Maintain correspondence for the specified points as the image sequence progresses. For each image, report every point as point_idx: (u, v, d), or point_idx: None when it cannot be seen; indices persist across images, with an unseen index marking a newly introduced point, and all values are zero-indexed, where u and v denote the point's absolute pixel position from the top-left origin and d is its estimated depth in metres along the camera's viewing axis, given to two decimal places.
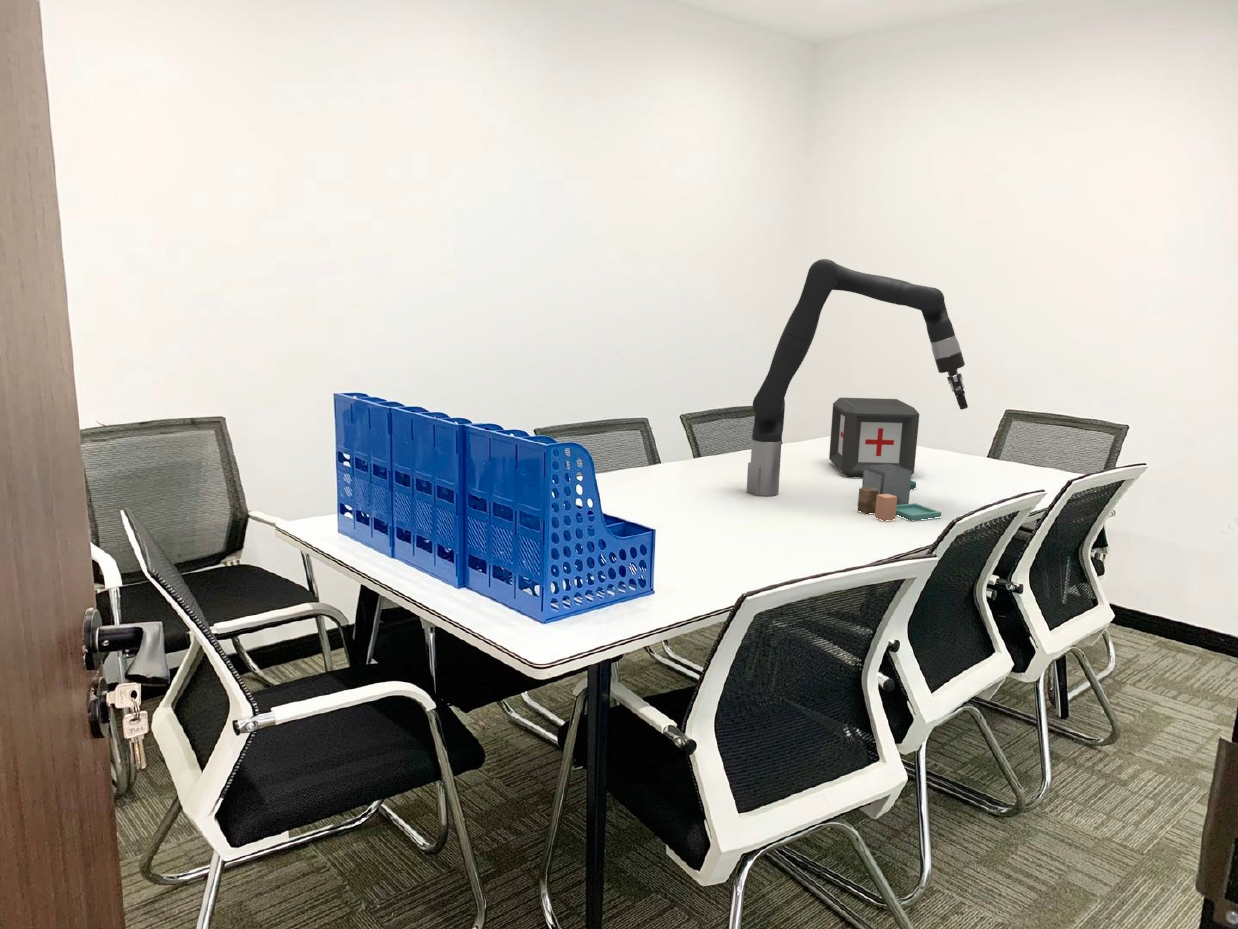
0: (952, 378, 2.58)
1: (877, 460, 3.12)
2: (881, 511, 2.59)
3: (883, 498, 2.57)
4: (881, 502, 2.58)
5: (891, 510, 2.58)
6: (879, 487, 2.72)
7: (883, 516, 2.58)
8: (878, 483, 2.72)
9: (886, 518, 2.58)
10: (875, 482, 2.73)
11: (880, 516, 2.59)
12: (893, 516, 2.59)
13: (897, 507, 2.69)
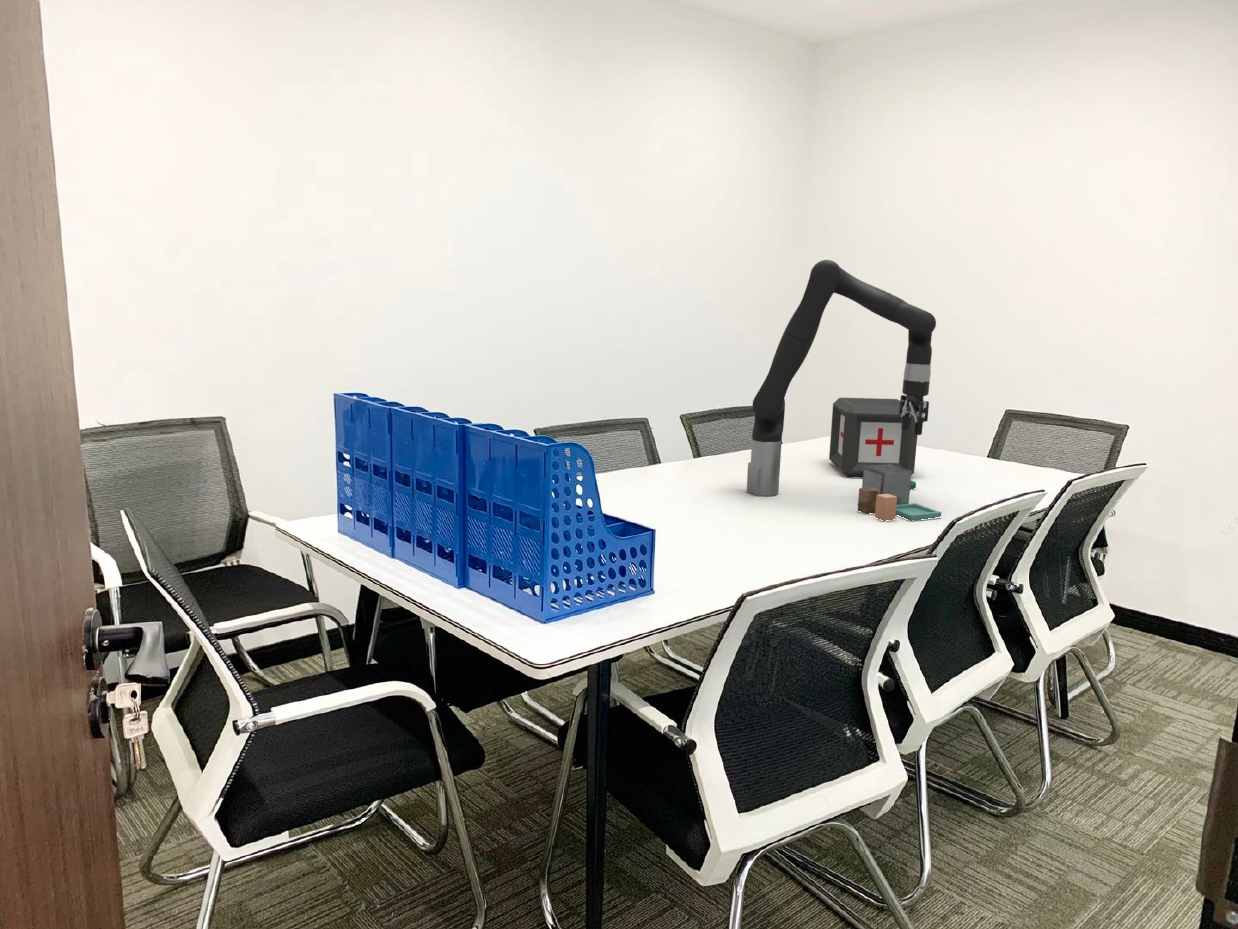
0: (922, 403, 2.65)
1: (877, 460, 3.12)
2: (881, 511, 2.59)
3: (883, 498, 2.57)
4: (880, 502, 2.58)
5: (891, 510, 2.58)
6: (879, 487, 2.72)
7: (883, 516, 2.58)
8: (878, 483, 2.72)
9: (886, 518, 2.58)
10: (875, 482, 2.73)
11: (880, 516, 2.59)
12: (893, 516, 2.59)
13: (897, 507, 2.69)
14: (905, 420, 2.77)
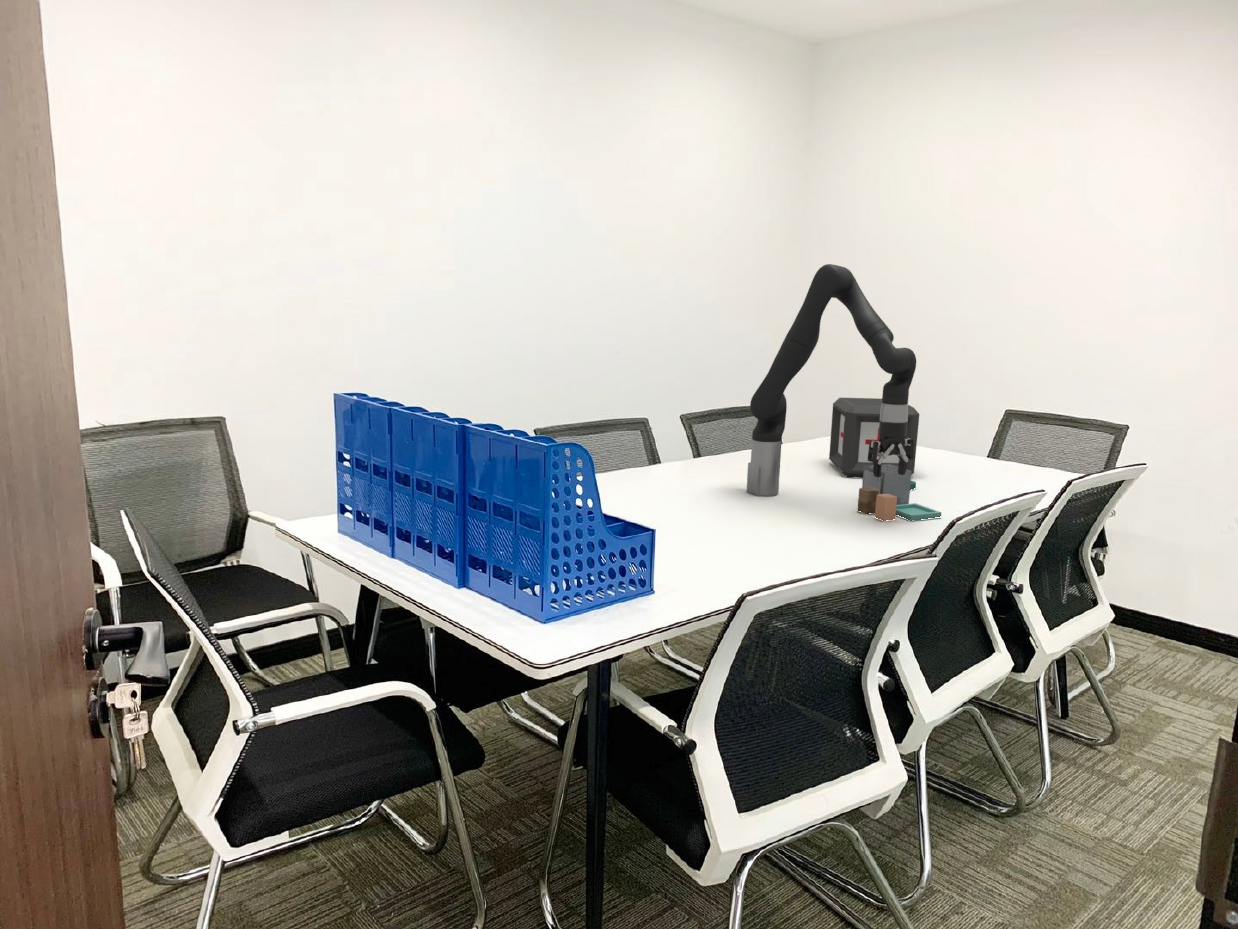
0: (870, 443, 2.54)
1: None
2: (881, 511, 2.59)
3: (883, 498, 2.57)
4: (881, 502, 2.58)
5: (891, 510, 2.58)
6: (879, 487, 2.72)
7: (883, 516, 2.58)
8: (878, 483, 2.72)
9: (886, 518, 2.58)
10: (875, 482, 2.73)
11: (880, 516, 2.59)
12: (893, 516, 2.59)
13: (897, 507, 2.69)
14: (900, 464, 2.59)
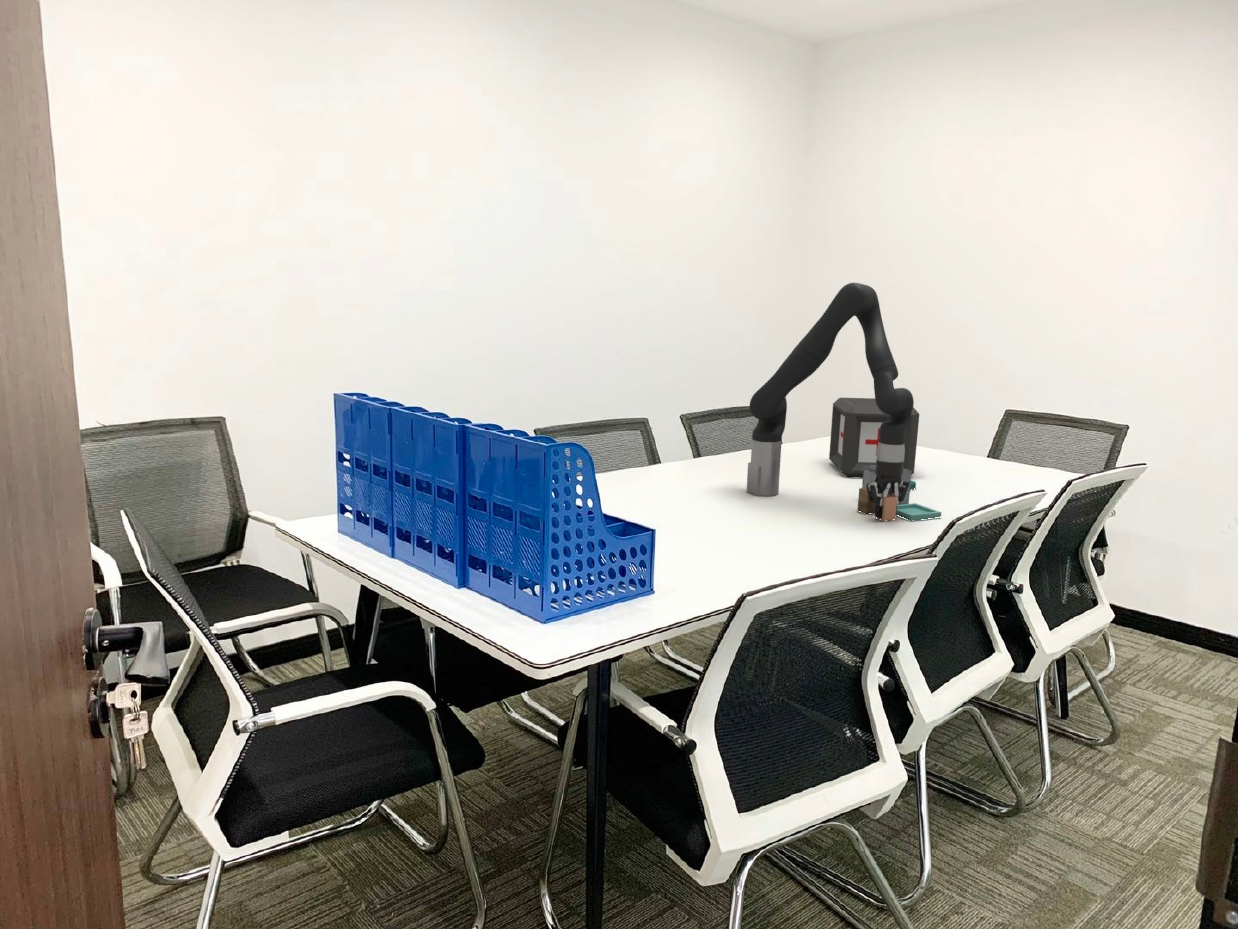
0: (867, 486, 2.56)
1: None
2: None
3: None
4: None
5: (891, 510, 2.58)
6: None
7: (883, 516, 2.58)
8: None
9: (886, 518, 2.58)
10: None
11: None
12: (893, 516, 2.59)
13: (897, 507, 2.69)
14: None
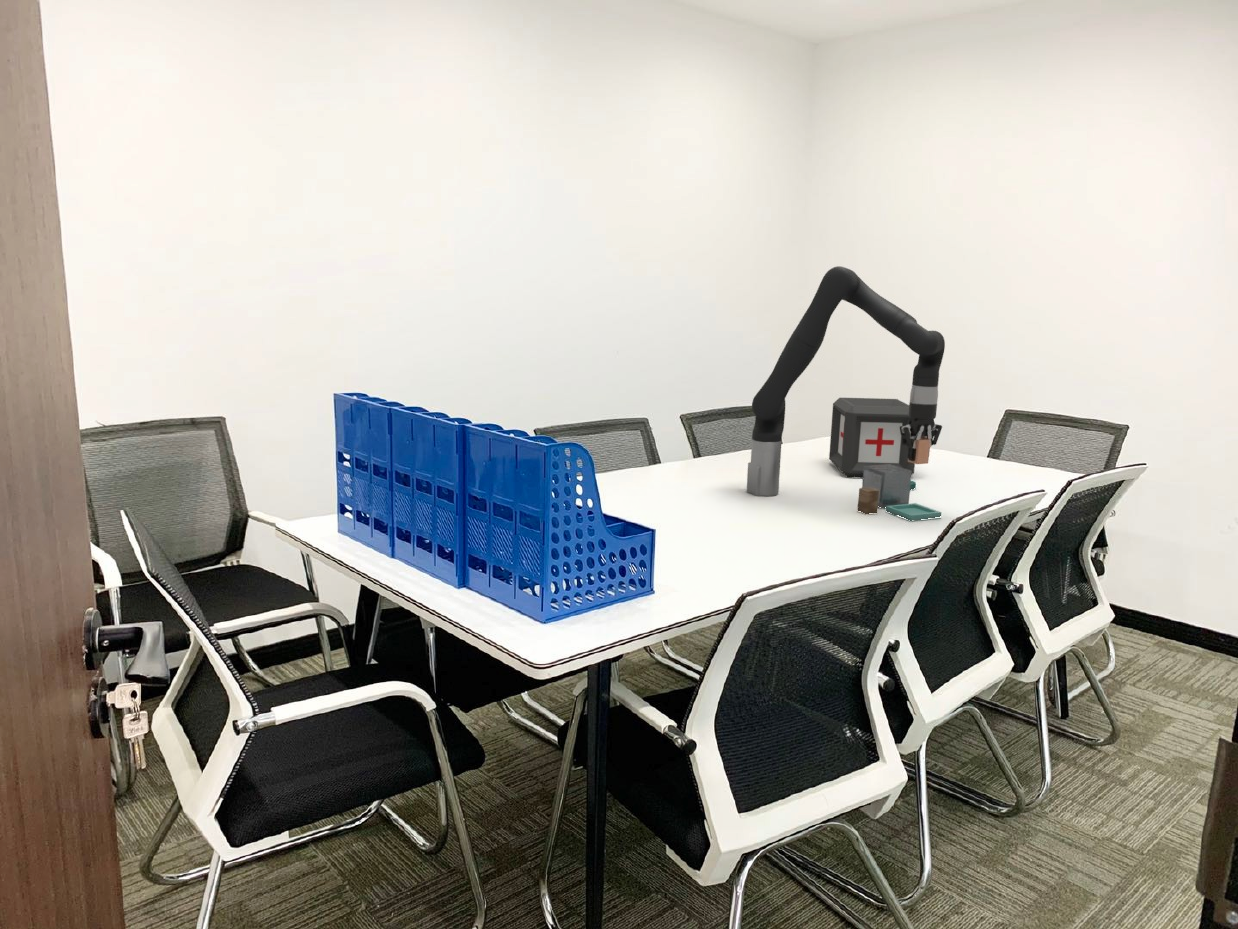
0: (900, 429, 2.58)
1: (877, 460, 3.12)
2: None
3: None
4: None
5: (924, 452, 2.60)
6: (879, 487, 2.72)
7: (916, 459, 2.60)
8: (878, 483, 2.72)
9: (919, 461, 2.60)
10: (875, 482, 2.73)
11: None
12: (926, 459, 2.61)
13: (897, 507, 2.69)
14: None
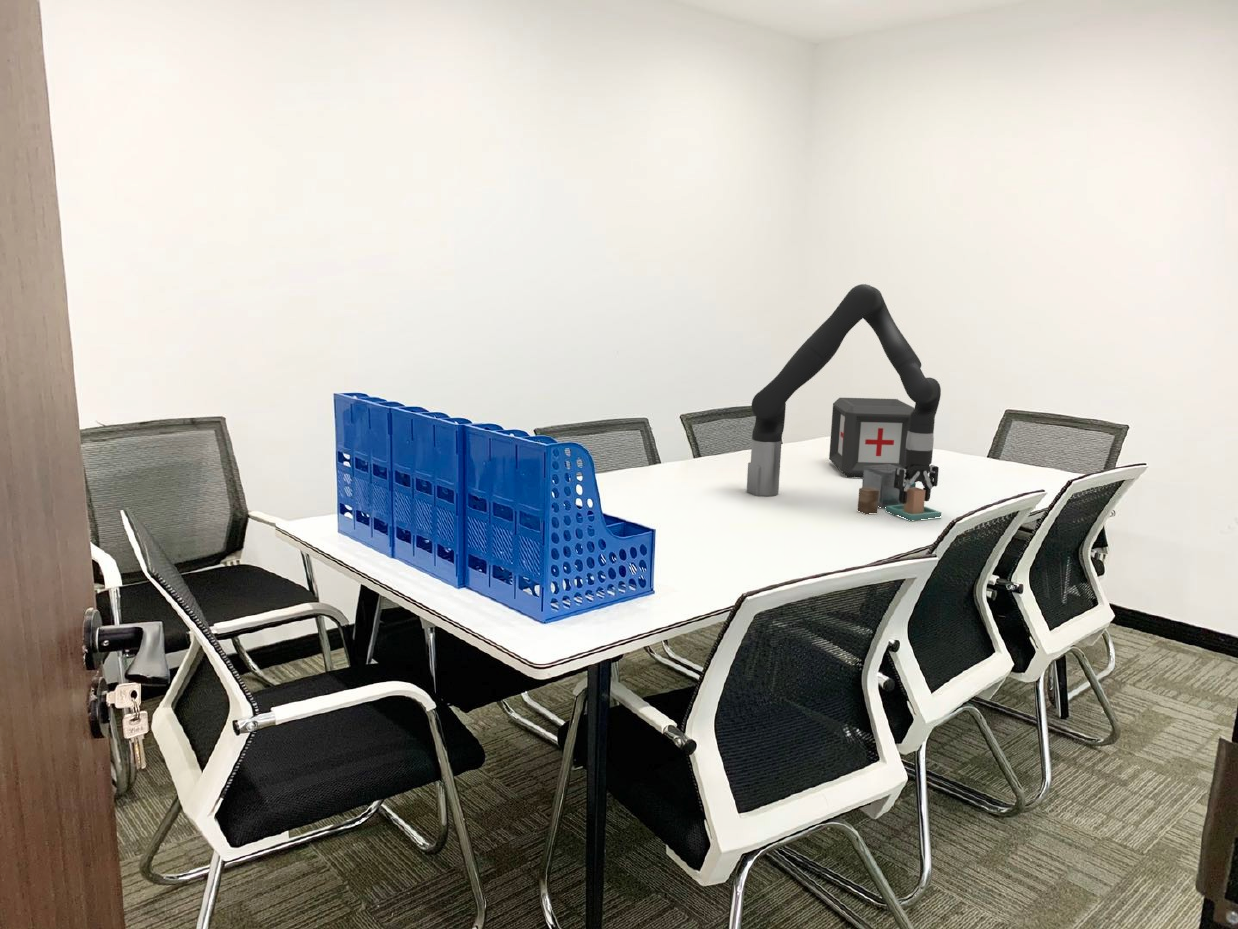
0: (896, 470, 2.61)
1: (877, 460, 3.12)
2: (909, 505, 2.64)
3: (912, 491, 2.62)
4: (909, 495, 2.63)
5: (920, 503, 2.63)
6: (879, 487, 2.72)
7: (912, 509, 2.63)
8: (878, 483, 2.72)
9: (915, 511, 2.63)
10: (875, 482, 2.73)
11: (908, 509, 2.64)
12: (921, 509, 2.64)
13: (897, 507, 2.69)
14: None
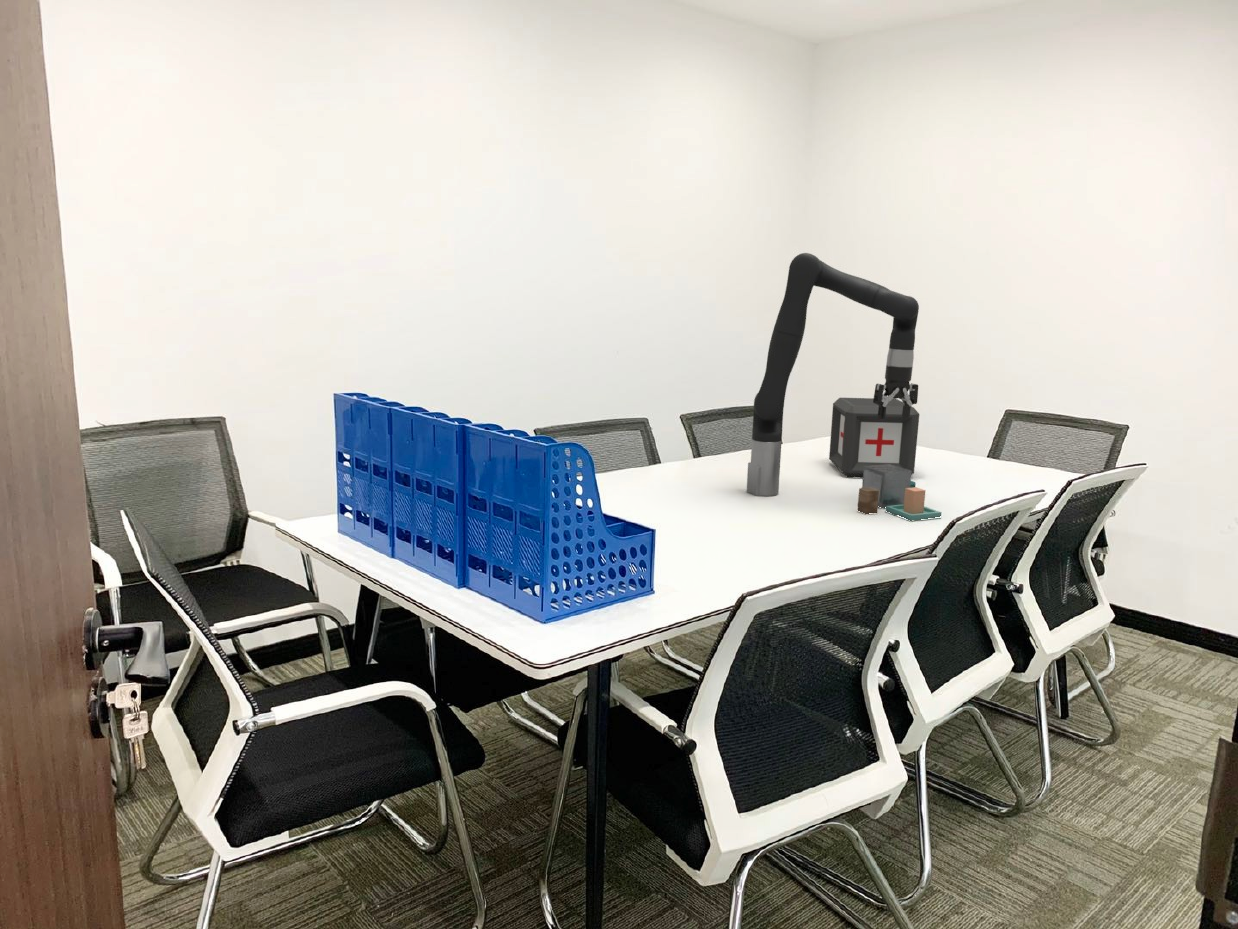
0: (876, 386, 2.68)
1: (877, 460, 3.12)
2: (909, 505, 2.64)
3: (912, 491, 2.62)
4: (909, 495, 2.63)
5: (920, 503, 2.63)
6: (879, 487, 2.72)
7: (912, 509, 2.63)
8: (878, 483, 2.72)
9: (915, 511, 2.63)
10: (875, 482, 2.73)
11: (908, 509, 2.64)
12: (921, 509, 2.64)
13: (897, 507, 2.69)
14: (904, 408, 2.73)
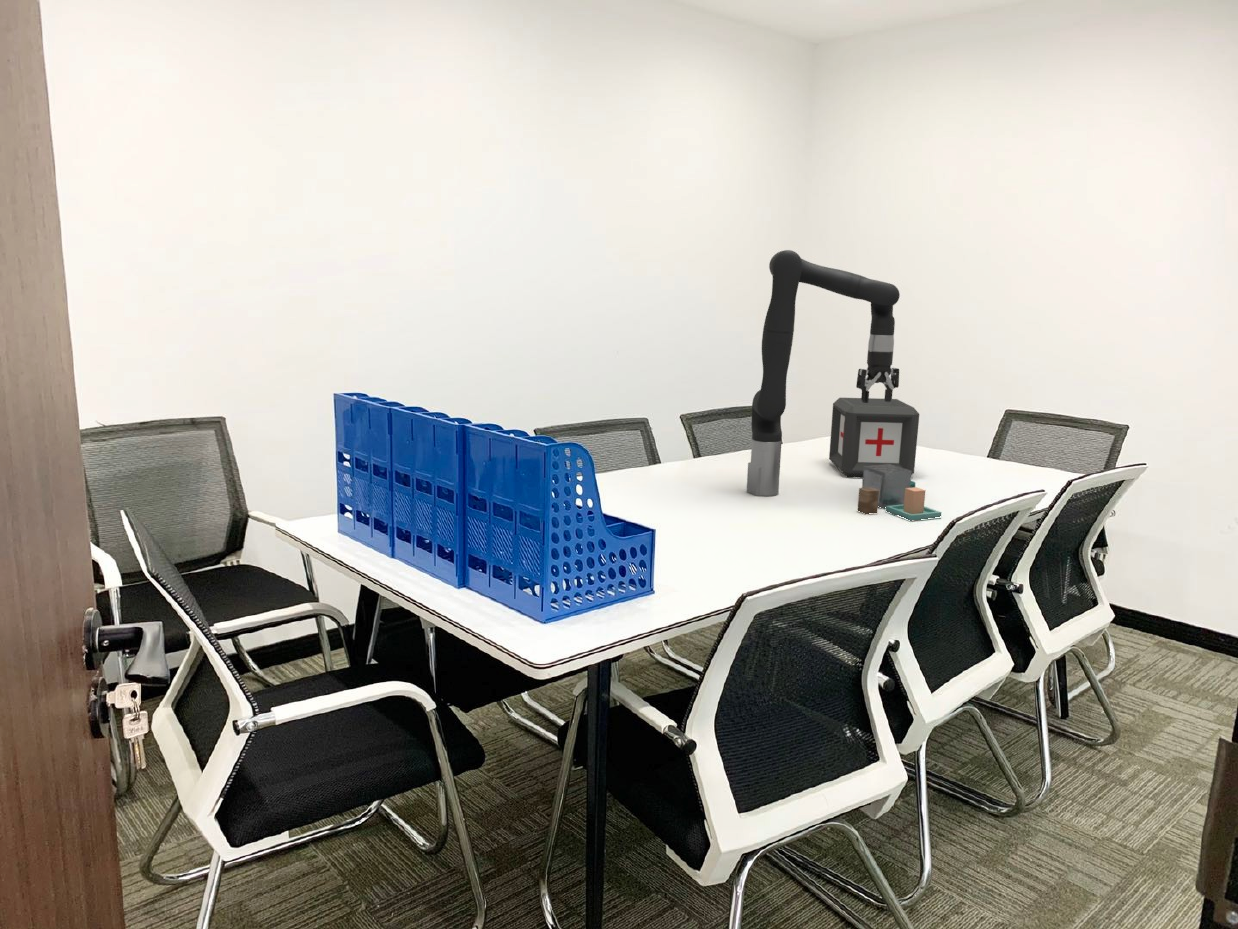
0: (859, 371, 2.77)
1: (877, 460, 3.12)
2: (909, 505, 2.64)
3: (912, 491, 2.62)
4: (909, 495, 2.63)
5: (920, 503, 2.63)
6: (879, 487, 2.72)
7: (912, 509, 2.63)
8: (878, 483, 2.72)
9: (915, 511, 2.63)
10: (875, 482, 2.73)
11: (908, 509, 2.64)
12: (921, 509, 2.64)
13: (897, 507, 2.69)
14: (886, 392, 2.82)
